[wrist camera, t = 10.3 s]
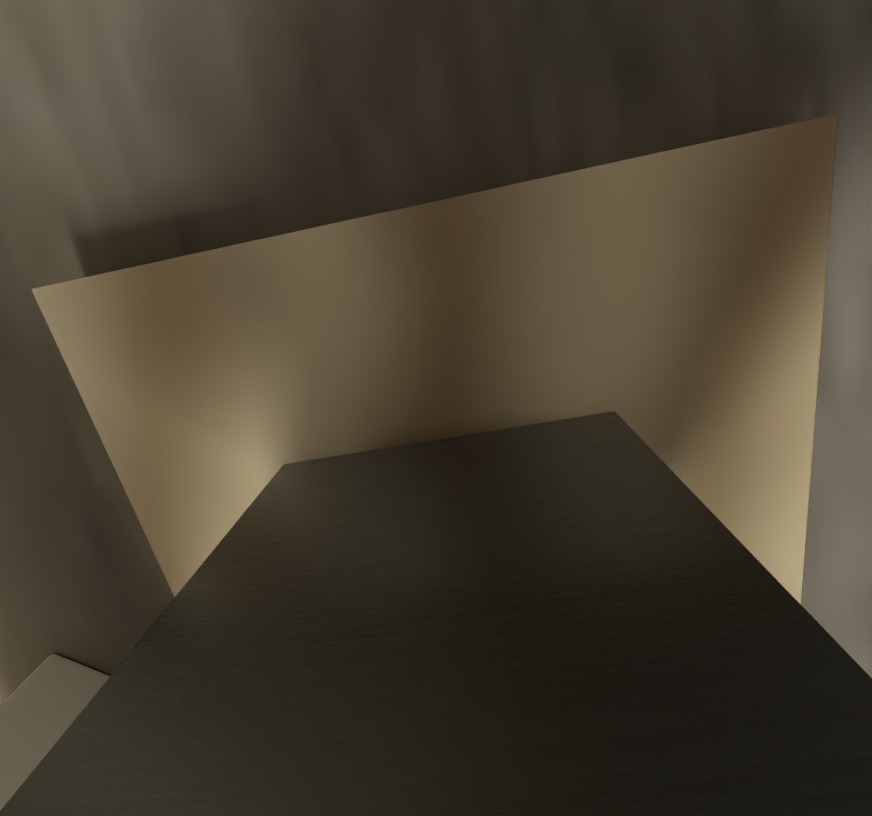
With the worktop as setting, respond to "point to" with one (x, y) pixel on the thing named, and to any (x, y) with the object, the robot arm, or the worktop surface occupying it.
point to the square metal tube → (474, 653)
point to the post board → (481, 337)
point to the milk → (41, 716)
